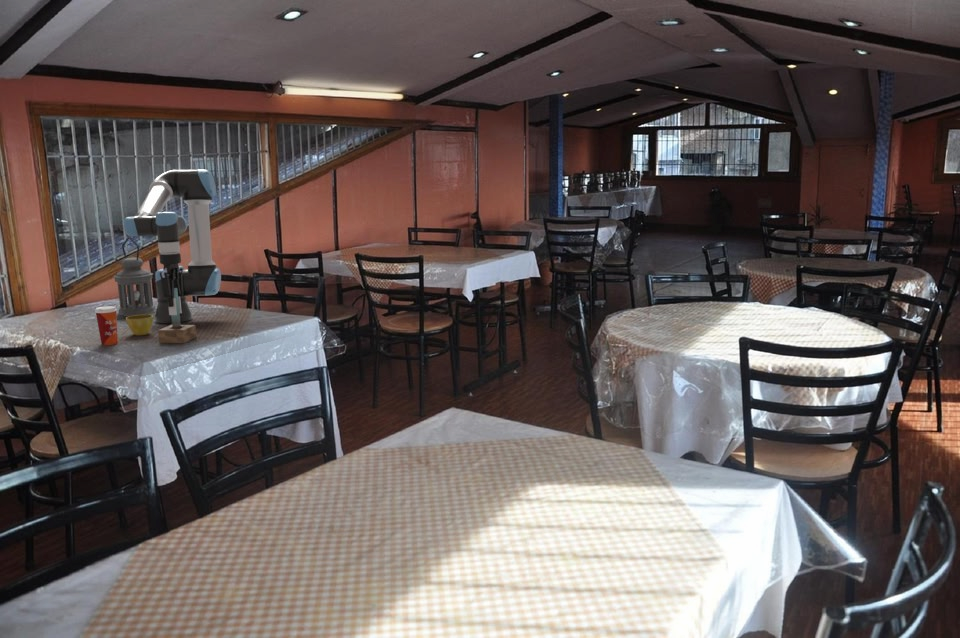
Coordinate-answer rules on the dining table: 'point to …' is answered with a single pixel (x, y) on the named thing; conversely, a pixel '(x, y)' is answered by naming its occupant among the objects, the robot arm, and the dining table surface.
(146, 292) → the lantern
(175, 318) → the teal rectangular bar
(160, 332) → the wooden block with hole
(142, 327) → the flower pot
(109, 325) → the paper cup
